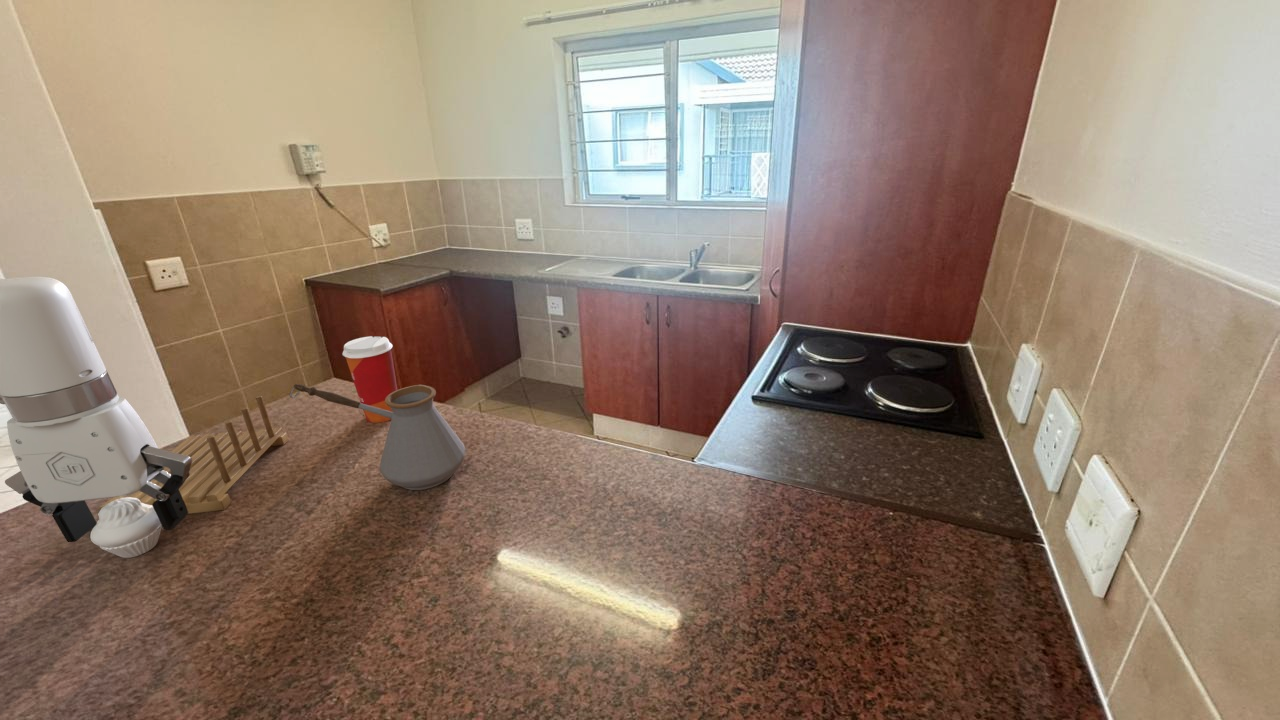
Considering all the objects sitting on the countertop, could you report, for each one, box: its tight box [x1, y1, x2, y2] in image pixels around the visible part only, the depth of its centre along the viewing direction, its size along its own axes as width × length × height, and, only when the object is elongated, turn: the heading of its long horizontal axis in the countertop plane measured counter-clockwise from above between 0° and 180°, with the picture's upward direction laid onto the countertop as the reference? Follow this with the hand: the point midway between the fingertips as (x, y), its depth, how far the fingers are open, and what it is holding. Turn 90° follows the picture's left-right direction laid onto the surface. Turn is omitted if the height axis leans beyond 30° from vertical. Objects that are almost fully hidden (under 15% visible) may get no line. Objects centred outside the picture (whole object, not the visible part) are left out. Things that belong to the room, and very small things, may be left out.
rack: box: [99, 395, 289, 515], centre depth 72 cm, size 14×18×10 cm
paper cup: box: [341, 335, 398, 424], centre depth 87 cm, size 8×8×14 cm
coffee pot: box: [289, 383, 467, 491], centre depth 70 cm, size 21×12×15 cm, turn 92°
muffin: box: [89, 497, 163, 559], centre depth 59 cm, size 6×6×7 cm
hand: (130, 528), depth 59 cm, fingers open, 9 cm apart
